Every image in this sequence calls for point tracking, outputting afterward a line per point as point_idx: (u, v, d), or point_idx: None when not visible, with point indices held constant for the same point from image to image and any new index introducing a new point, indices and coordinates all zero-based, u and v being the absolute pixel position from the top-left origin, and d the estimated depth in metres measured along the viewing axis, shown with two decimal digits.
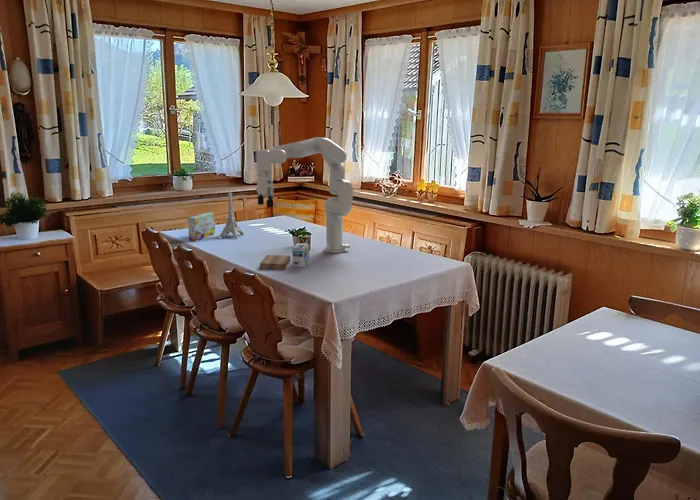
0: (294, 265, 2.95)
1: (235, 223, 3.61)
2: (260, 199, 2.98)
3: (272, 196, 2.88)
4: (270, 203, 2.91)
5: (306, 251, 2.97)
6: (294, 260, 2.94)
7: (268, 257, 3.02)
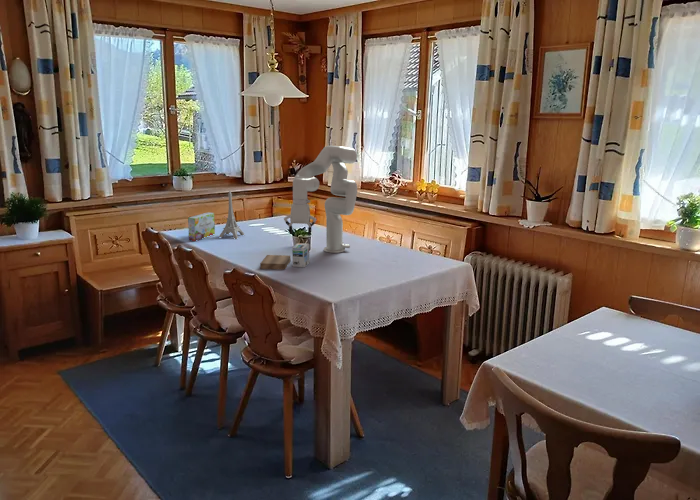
0: (294, 265, 2.95)
1: (235, 223, 3.61)
2: (291, 228, 2.94)
3: (314, 223, 2.93)
4: None
5: (306, 251, 2.97)
6: (294, 260, 2.94)
7: (268, 257, 3.02)
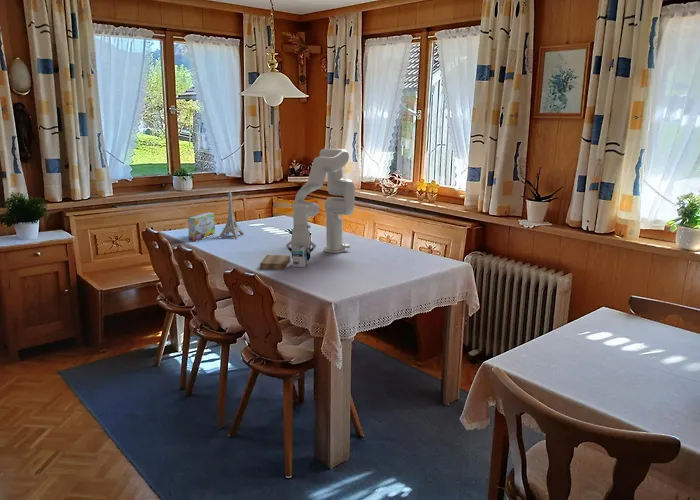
0: (294, 265, 2.94)
1: (235, 223, 3.61)
2: None
3: (313, 249, 2.97)
4: None
5: (306, 251, 2.97)
6: (294, 260, 2.94)
7: (268, 257, 3.02)
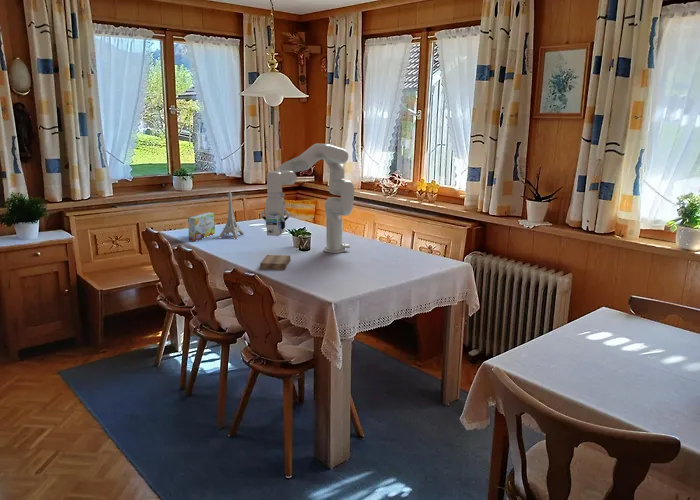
0: (268, 234, 2.90)
1: (235, 223, 3.61)
2: None
3: None
4: (284, 225, 2.93)
5: (281, 219, 2.92)
6: (268, 229, 2.89)
7: (268, 257, 3.02)
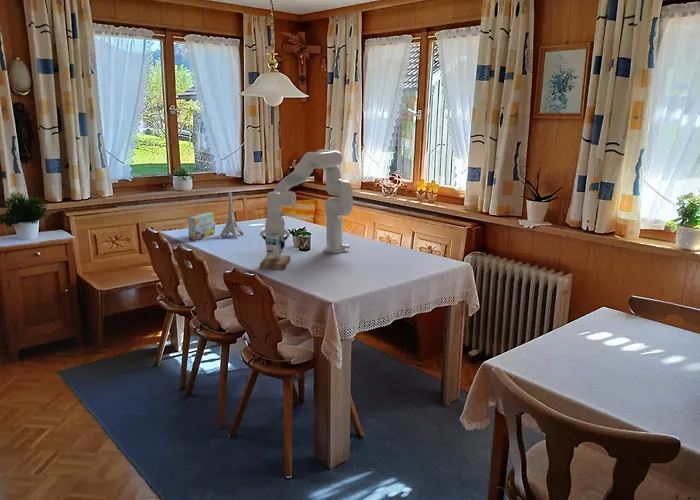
0: (268, 253, 2.92)
1: (235, 223, 3.61)
2: None
3: (287, 237, 2.95)
4: (284, 244, 2.96)
5: (280, 239, 2.94)
6: (268, 248, 2.92)
7: (268, 257, 3.02)
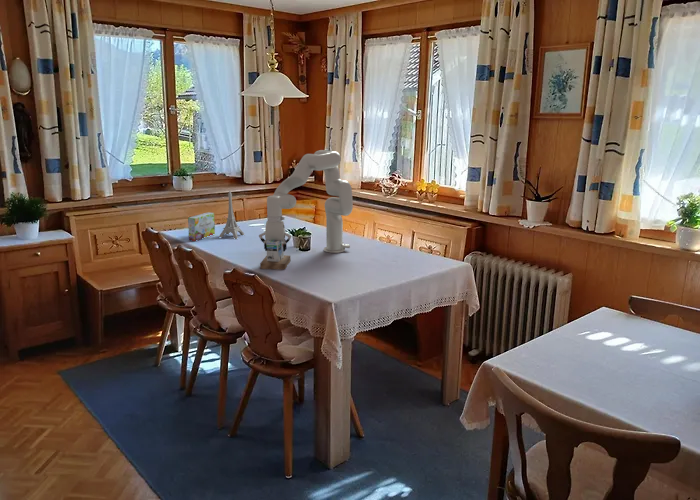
0: (268, 260, 2.93)
1: (235, 223, 3.61)
2: None
3: (289, 239, 2.95)
4: (286, 247, 2.96)
5: (280, 245, 2.95)
6: (268, 254, 2.92)
7: None
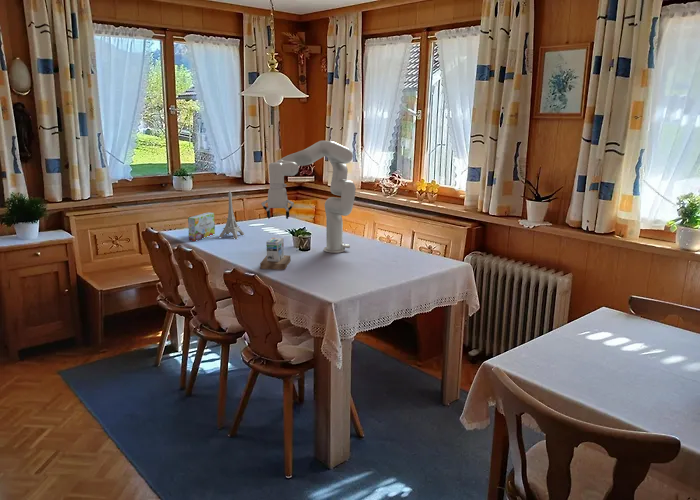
0: (268, 260, 2.93)
1: (235, 223, 3.61)
2: (269, 213, 2.95)
3: None
4: None
5: (280, 245, 2.95)
6: (268, 254, 2.92)
7: None
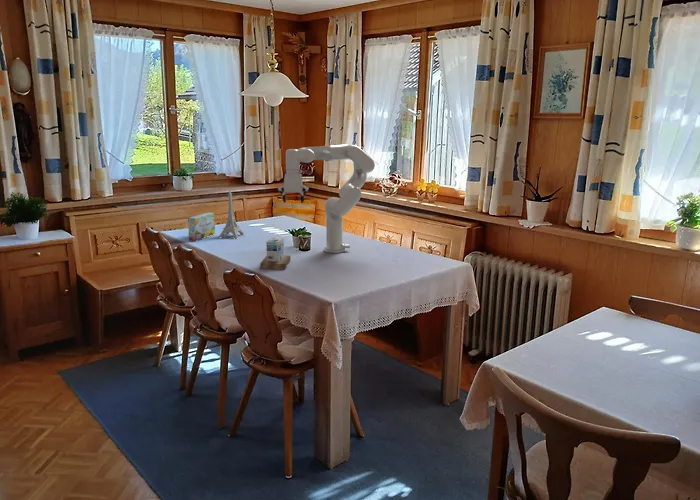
0: (268, 260, 2.93)
1: (235, 223, 3.61)
2: (285, 197, 3.11)
3: (306, 192, 3.10)
4: (303, 199, 3.11)
5: (280, 245, 2.95)
6: (268, 254, 2.92)
7: None
